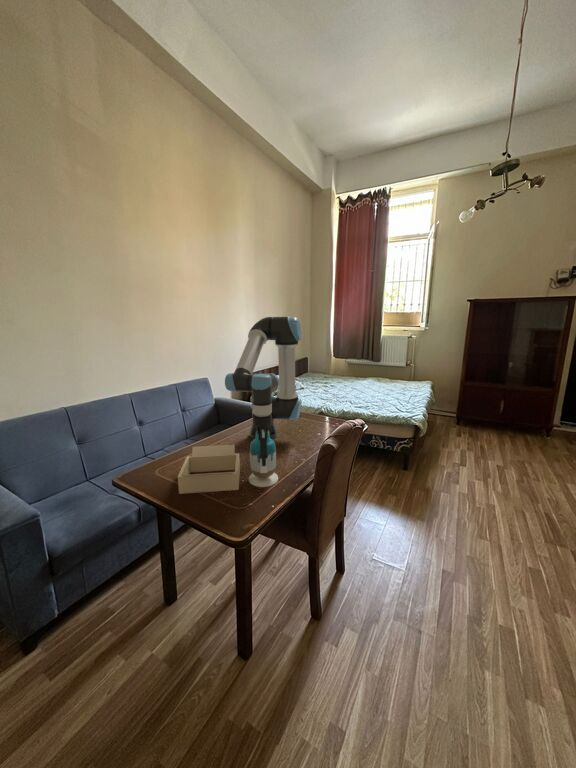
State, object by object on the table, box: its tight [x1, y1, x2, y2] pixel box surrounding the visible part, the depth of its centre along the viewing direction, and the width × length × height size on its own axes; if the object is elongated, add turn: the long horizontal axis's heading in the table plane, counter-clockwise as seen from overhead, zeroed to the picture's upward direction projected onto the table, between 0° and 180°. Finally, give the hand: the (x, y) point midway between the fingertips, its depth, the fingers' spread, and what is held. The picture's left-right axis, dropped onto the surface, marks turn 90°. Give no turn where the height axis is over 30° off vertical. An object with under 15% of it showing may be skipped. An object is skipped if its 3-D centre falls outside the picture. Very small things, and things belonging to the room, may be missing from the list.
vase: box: [249, 430, 277, 478], centre depth 125 cm, size 11×11×19 cm
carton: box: [177, 444, 241, 495], centre depth 126 cm, size 25×22×10 cm
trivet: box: [248, 472, 279, 488], centre depth 128 cm, size 12×12×1 cm
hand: (263, 465), depth 127 cm, fingers closed on vase, 10 cm apart
